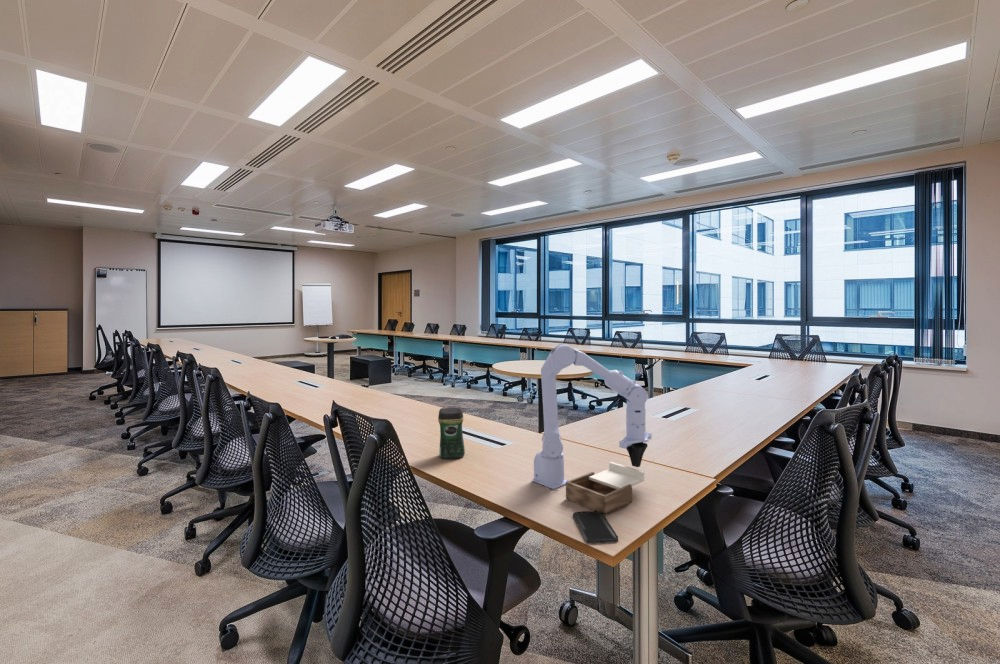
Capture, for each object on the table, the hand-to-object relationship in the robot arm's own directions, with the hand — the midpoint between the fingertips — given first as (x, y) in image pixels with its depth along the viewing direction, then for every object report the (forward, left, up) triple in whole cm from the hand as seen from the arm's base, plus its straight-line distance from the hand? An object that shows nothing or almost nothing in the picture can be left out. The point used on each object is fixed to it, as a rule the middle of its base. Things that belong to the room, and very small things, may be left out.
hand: (636, 466), depth 139 cm
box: (0, -19, -6) cm, 19 cm away
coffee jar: (-62, -28, -6) cm, 68 cm away
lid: (0, -10, -2) cm, 10 cm away
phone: (+9, -32, -6) cm, 34 cm away
